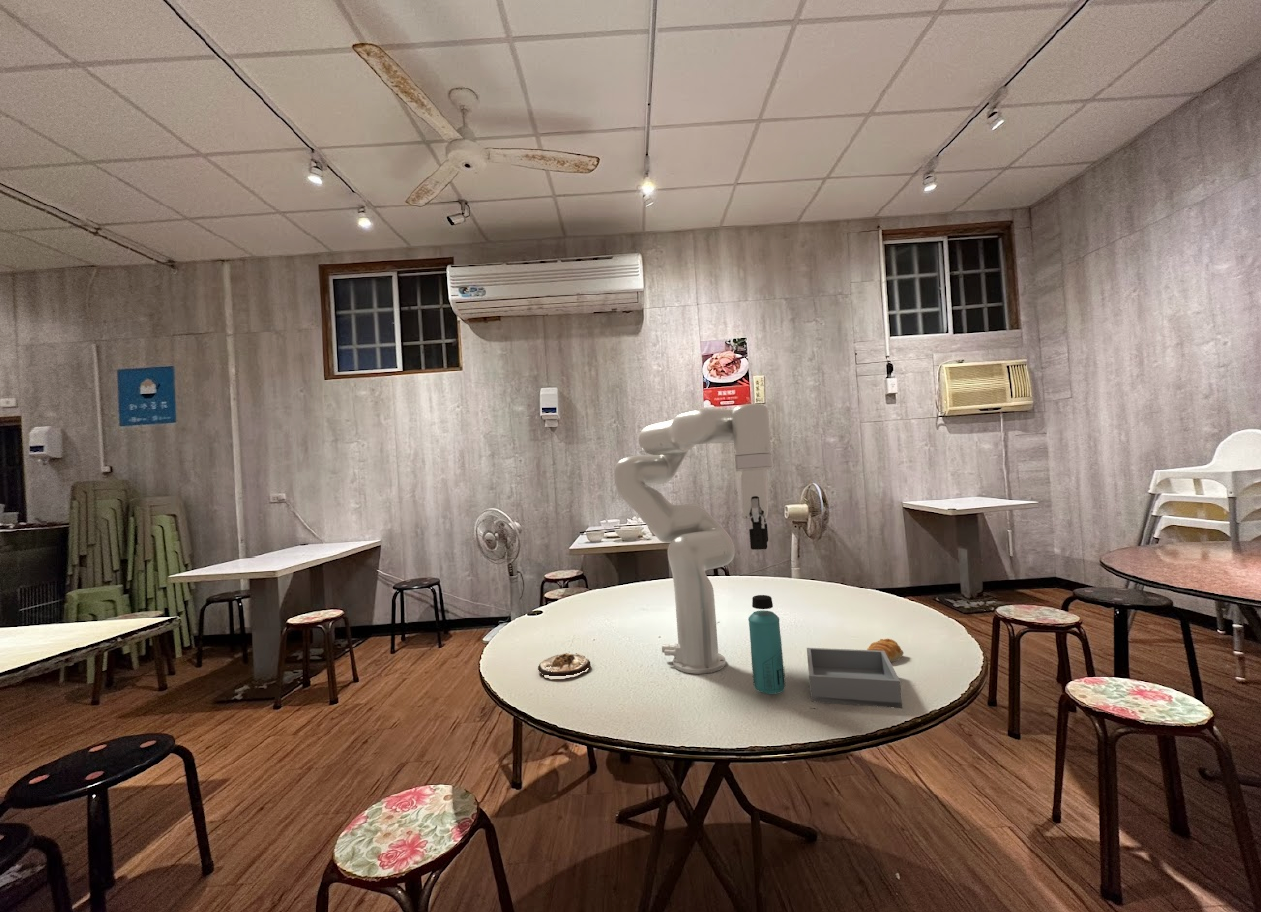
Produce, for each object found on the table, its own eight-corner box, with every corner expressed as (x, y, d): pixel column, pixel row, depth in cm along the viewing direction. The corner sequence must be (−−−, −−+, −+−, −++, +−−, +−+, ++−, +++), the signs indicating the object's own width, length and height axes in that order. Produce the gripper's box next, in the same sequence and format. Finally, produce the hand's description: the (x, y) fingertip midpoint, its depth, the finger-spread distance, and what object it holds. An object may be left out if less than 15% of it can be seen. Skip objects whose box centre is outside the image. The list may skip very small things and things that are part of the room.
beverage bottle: (781, 704, 97) (773, 601, 98) (748, 698, 100) (741, 598, 101) (790, 691, 102) (782, 593, 103) (758, 685, 106) (751, 591, 107)
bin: (811, 701, 97) (809, 676, 97) (808, 669, 112) (806, 647, 112) (902, 708, 92) (900, 681, 92) (886, 674, 107) (884, 650, 107)
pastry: (888, 668, 110) (886, 651, 111) (858, 661, 116) (856, 645, 116) (905, 657, 116) (904, 640, 117) (876, 650, 122) (875, 634, 122)
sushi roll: (549, 690, 111) (548, 671, 112) (525, 671, 124) (524, 654, 124) (605, 672, 119) (604, 655, 120) (578, 656, 132) (577, 640, 132)
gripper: (738, 465, 113) (744, 540, 112) (731, 464, 96) (738, 552, 96) (772, 462, 111) (778, 539, 110) (771, 461, 94) (778, 551, 93)
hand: (760, 545), depth 103 cm, fingers open, 9 cm apart
